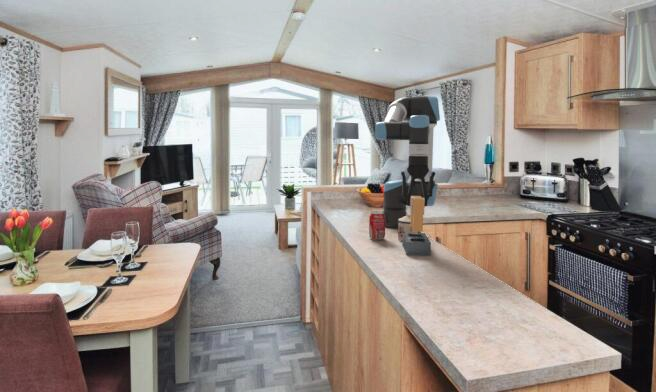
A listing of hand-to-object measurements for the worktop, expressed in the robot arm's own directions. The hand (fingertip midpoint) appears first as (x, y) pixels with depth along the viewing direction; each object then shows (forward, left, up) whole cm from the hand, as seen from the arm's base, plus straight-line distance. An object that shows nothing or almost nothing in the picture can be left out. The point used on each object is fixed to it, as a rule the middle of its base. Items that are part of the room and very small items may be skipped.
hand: (416, 214), depth 175 cm
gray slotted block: (0, 0, -15) cm, 15 cm away
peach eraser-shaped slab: (0, 0, -6) cm, 6 cm away
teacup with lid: (-16, -1, -15) cm, 22 cm away
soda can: (-18, -15, -15) cm, 28 cm away
